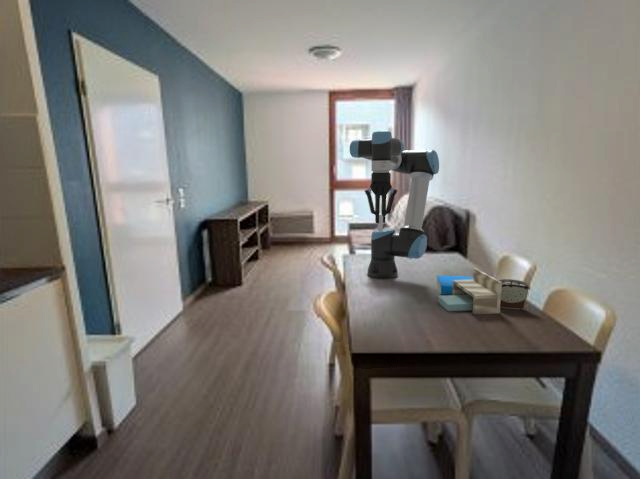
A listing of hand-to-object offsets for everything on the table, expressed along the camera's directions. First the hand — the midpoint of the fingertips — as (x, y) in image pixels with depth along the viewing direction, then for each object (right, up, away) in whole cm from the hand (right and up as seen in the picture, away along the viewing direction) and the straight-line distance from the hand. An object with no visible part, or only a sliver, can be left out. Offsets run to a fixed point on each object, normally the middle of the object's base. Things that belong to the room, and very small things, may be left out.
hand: (380, 231), depth 155 cm
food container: (+50, -29, -5) cm, 58 cm away
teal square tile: (+30, -30, -4) cm, 42 cm away
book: (+41, -26, +15) cm, 51 cm away
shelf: (+36, -29, -3) cm, 47 cm away
